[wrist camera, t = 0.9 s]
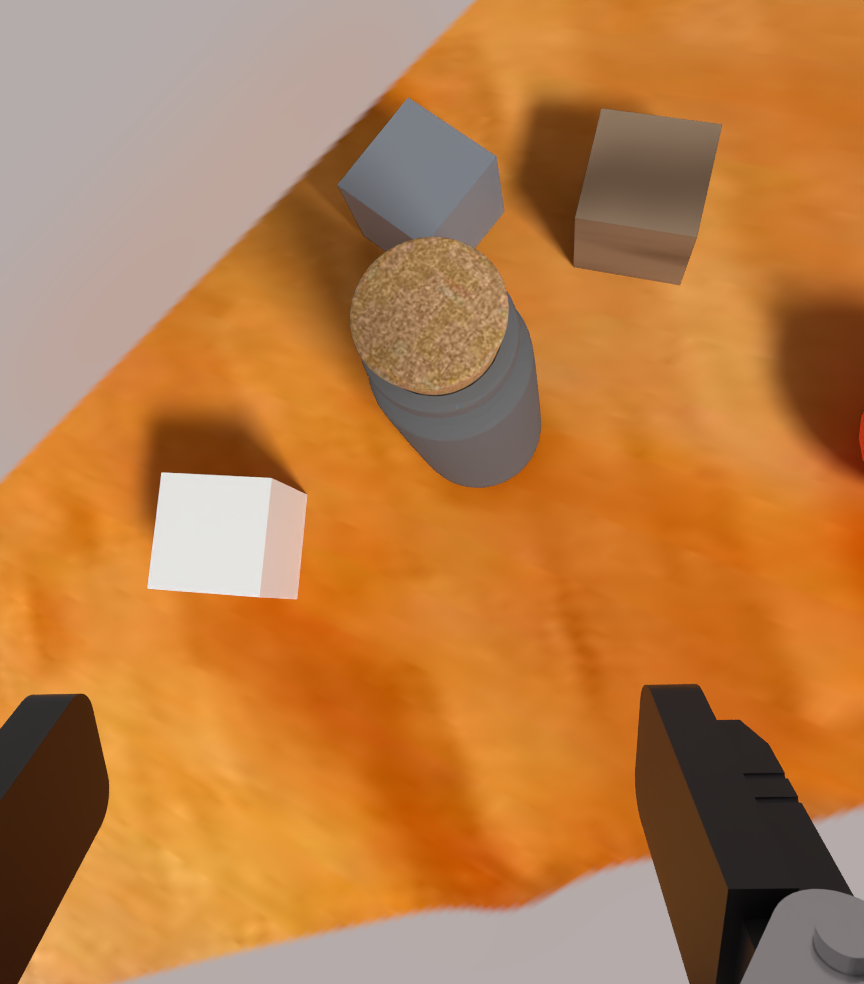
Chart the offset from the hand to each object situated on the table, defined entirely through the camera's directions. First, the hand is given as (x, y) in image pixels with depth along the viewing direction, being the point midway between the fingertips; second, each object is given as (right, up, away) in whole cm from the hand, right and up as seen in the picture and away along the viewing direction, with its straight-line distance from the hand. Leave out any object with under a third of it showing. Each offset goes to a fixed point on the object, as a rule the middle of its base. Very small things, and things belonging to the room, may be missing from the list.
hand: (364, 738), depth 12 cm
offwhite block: (-8, +1, +27) cm, 29 cm away
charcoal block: (+1, +17, +28) cm, 33 cm away
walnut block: (+11, +16, +27) cm, 33 cm away
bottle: (+3, +7, +27) cm, 28 cm away
